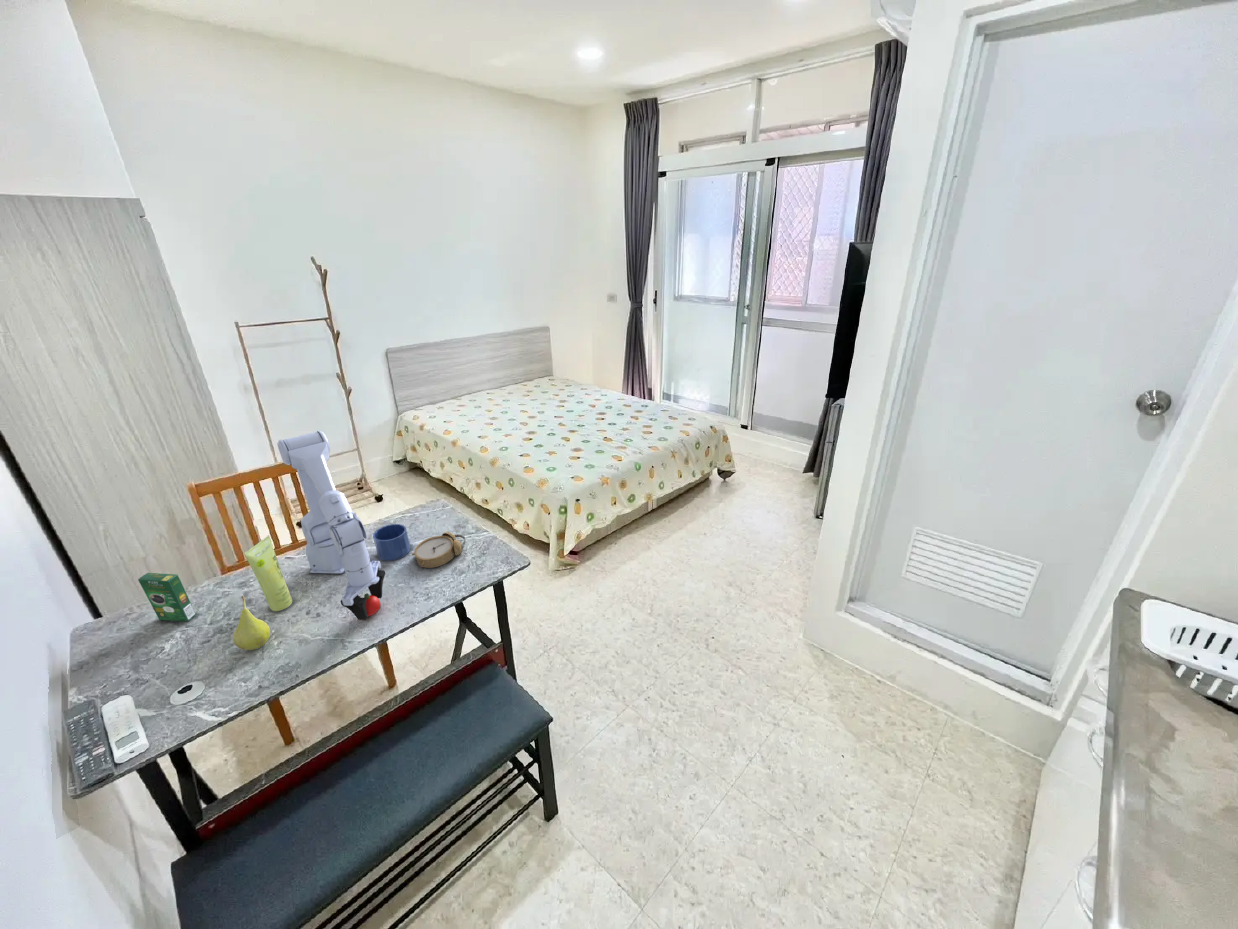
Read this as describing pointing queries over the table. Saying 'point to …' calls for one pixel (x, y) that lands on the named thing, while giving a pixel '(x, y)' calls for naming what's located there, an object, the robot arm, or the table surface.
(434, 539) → the alarm clock
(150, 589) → the coffee box
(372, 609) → the tomato
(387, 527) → the cup
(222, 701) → the table surface
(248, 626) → the fruit
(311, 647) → the table surface
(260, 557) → the tube
